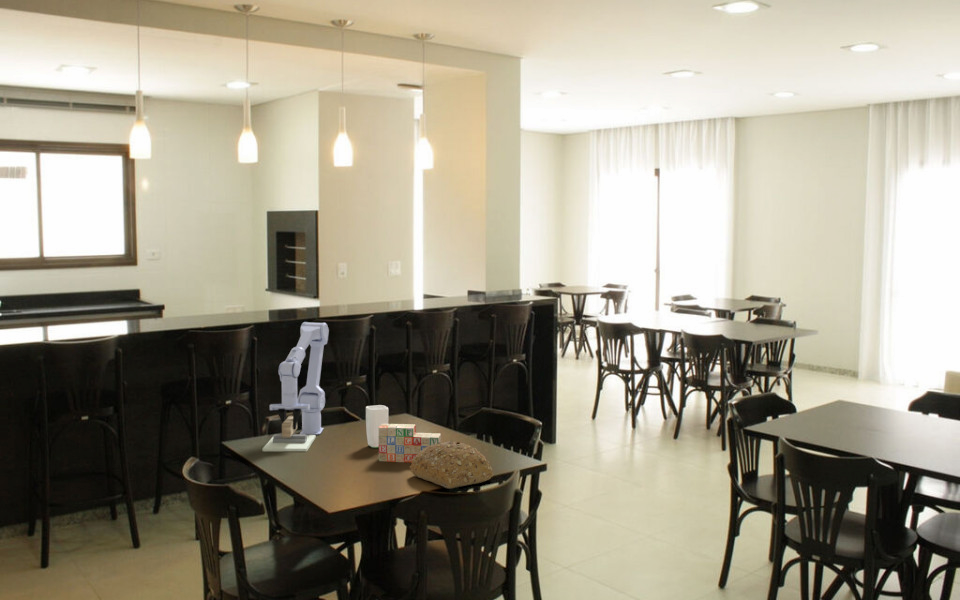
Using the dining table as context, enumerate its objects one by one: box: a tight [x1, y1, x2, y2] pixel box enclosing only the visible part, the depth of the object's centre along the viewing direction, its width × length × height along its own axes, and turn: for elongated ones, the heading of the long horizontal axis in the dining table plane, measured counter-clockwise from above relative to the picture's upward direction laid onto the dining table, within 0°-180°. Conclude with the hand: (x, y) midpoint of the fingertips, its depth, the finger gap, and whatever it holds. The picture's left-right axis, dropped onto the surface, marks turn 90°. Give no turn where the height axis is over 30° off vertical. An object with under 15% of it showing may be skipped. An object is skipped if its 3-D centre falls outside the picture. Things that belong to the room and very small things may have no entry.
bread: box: [409, 440, 494, 490], centre depth 264 cm, size 24×21×12 cm
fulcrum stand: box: [262, 433, 317, 452], centre depth 305 cm, size 20×16×4 cm
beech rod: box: [281, 414, 298, 437], centre depth 305 cm, size 14×3×5 cm, turn 2°
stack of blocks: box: [378, 423, 442, 463], centre depth 286 cm, size 21×6×12 cm, turn 84°
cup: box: [365, 404, 389, 449], centre depth 303 cm, size 7×7×15 cm
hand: (289, 428), depth 305 cm, fingers closed on beech rod, 3 cm apart
